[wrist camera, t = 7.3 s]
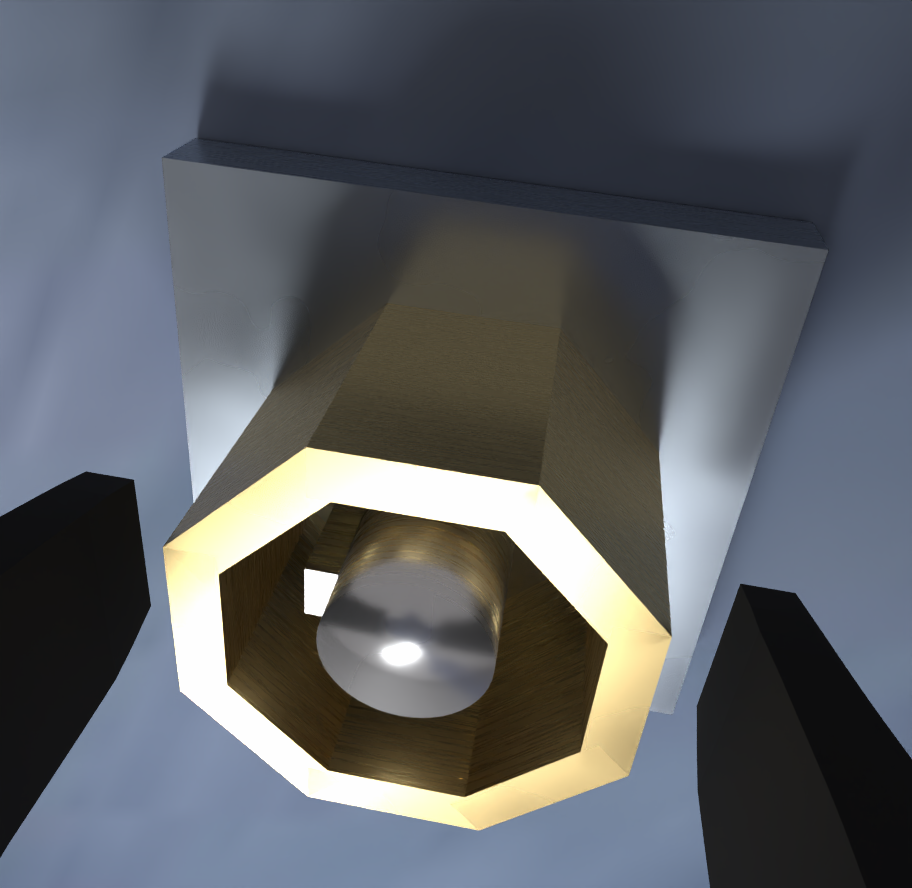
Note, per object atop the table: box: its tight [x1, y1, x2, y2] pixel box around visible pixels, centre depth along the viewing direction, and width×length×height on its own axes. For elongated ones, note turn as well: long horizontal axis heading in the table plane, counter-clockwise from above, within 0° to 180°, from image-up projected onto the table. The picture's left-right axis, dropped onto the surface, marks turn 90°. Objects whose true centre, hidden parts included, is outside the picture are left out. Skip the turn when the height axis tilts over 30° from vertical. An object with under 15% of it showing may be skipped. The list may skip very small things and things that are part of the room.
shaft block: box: [162, 138, 829, 718], centre depth 11 cm, size 8×8×4 cm
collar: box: [163, 303, 672, 830], centre depth 11 cm, size 5×5×4 cm
